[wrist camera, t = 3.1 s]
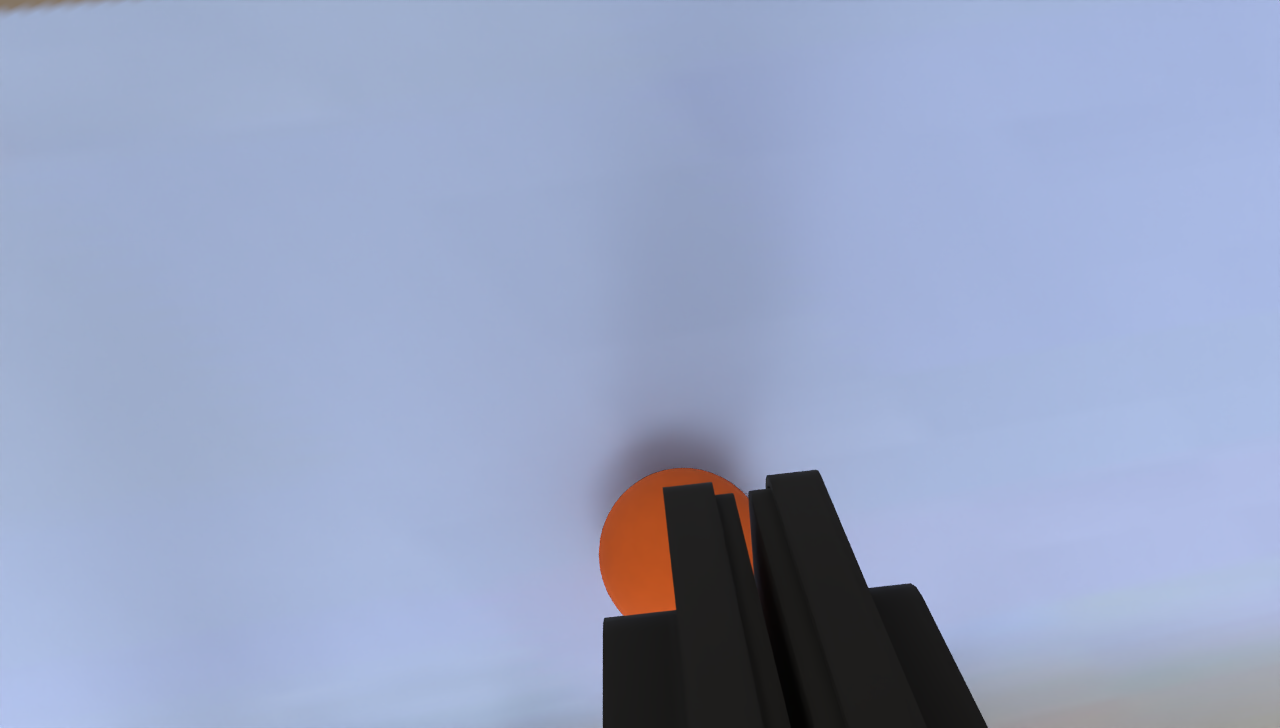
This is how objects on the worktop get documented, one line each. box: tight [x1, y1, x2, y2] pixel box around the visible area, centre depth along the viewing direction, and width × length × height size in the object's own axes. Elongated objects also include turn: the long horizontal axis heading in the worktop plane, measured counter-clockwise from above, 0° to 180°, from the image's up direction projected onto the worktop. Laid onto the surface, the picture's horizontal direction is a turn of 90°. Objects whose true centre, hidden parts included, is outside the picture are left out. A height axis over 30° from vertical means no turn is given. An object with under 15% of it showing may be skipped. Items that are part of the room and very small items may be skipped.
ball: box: [599, 468, 754, 616], centre depth 24 cm, size 4×4×4 cm
